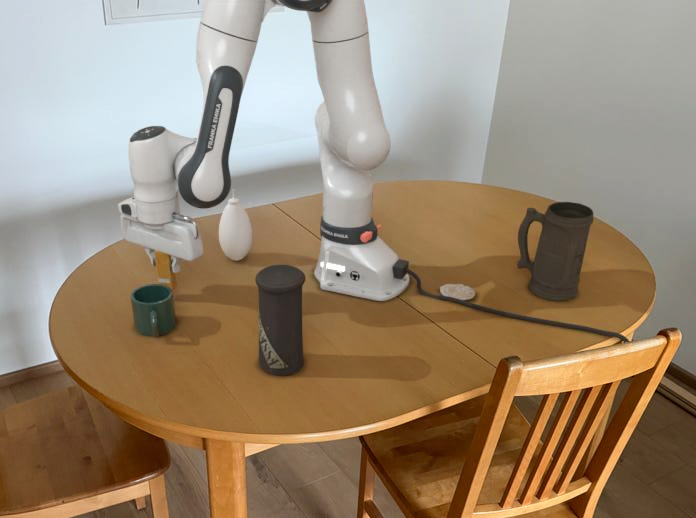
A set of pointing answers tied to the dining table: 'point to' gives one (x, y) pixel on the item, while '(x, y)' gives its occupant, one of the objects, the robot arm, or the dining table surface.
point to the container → (280, 319)
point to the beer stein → (556, 249)
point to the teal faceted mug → (153, 309)
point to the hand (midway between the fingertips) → (165, 268)
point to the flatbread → (458, 291)
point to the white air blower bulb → (235, 230)
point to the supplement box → (165, 270)
